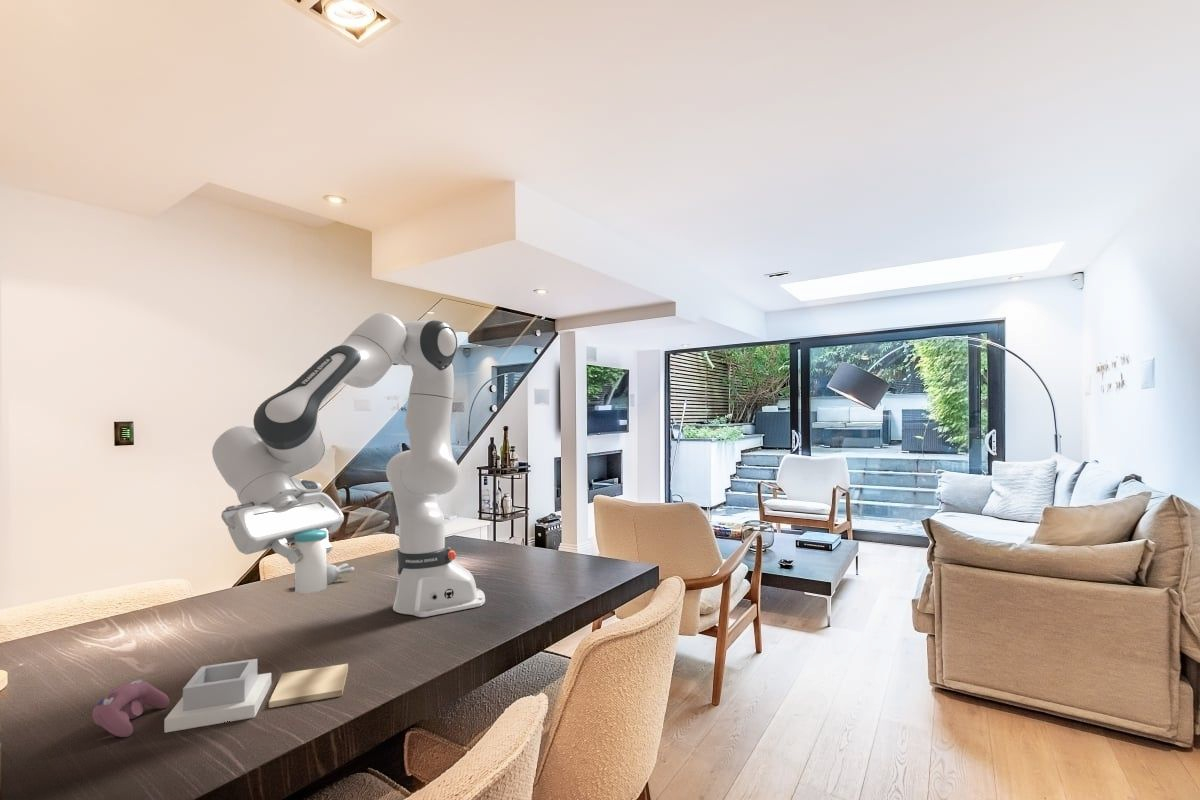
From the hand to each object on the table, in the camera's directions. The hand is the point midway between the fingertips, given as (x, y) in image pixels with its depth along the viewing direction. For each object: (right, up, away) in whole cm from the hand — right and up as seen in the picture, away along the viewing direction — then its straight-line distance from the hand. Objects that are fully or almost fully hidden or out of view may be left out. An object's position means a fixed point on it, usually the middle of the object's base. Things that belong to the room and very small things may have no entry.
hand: (313, 556), depth 100 cm
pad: (0, -23, -1) cm, 23 cm away
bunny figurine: (-29, -26, +63) cm, 74 cm away
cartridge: (0, -6, 0) cm, 6 cm away
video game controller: (-23, -23, -11) cm, 35 cm away
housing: (-12, -23, -7) cm, 27 cm away
